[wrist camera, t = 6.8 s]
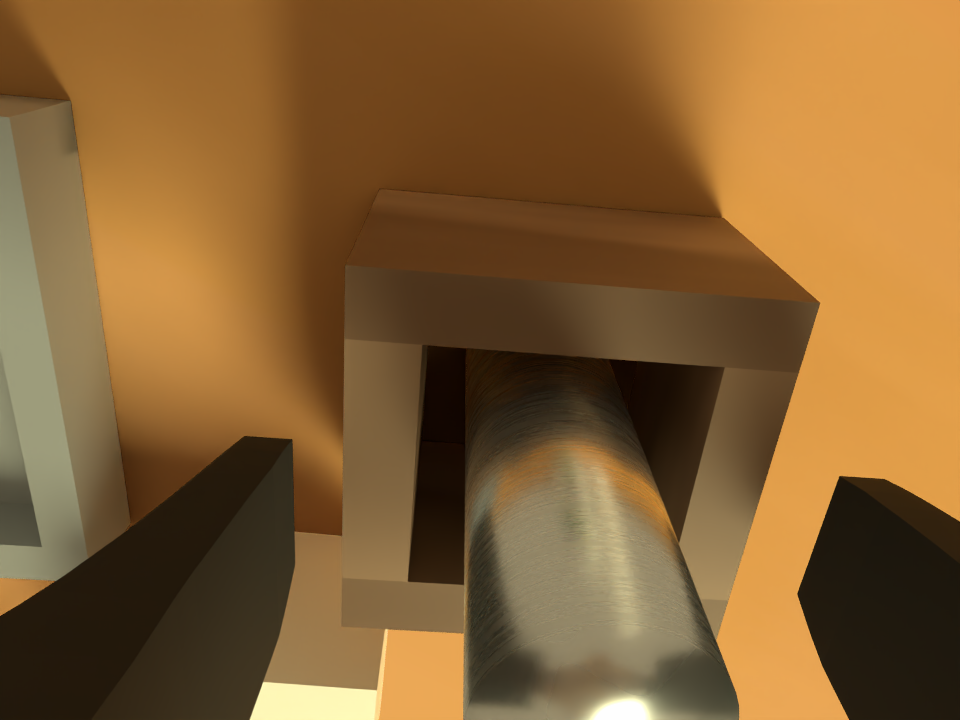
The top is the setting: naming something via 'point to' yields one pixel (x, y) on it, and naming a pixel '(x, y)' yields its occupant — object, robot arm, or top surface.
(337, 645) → the small block
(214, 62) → the top surface
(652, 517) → the cylinder
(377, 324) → the hollow square frame
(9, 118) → the tray
